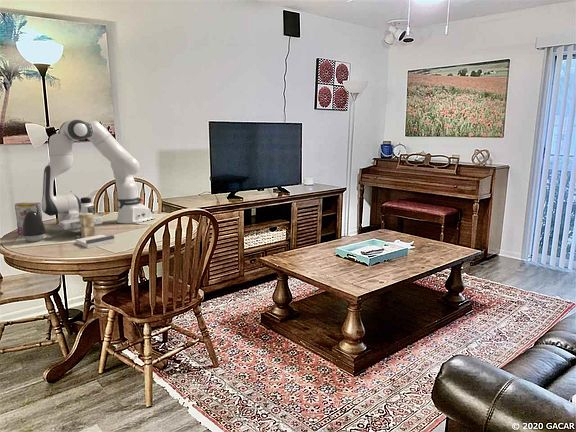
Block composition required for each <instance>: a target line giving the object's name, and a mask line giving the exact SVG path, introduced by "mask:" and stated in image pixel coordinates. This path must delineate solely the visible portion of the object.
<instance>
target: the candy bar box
mask: <svg viewBox="0 0 576 432" xmlns="http://www.w3.org/2000/svg"><path fill="white" fill-rule="evenodd" d="M41 205H42V202H40V201H39V202H38V201H37V202H16V203H15V204H14V209H15V218H16V226H17V234H18V235H22V225H23V220H24V217H25V214H24V212H29V211H35V212H37V213H38V214H39V216H40V217H41V219H42V220H43V214H42V212H43V211H42V206H41Z"/></svg>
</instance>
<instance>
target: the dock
mask: <svg viewBox="0 0 576 432" xmlns="http://www.w3.org/2000/svg"><path fill="white" fill-rule="evenodd" d="M115 242H116V241H115V235H113V234H112V235H108V236H107V235H104V234H98V235H95V236H91V237H86V238H83V237H81V238H77V239H75V243H76V245H79V246H82V247H84V248H87V249H91V248H95V247H102V246H105V245H109V244H114V243H115Z"/></svg>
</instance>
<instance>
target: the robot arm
mask: <svg viewBox="0 0 576 432" xmlns="http://www.w3.org/2000/svg"><path fill="white" fill-rule="evenodd" d="M86 139H87V140H88V141H90V142H91V144H93V146H94V147H95V148H96V149H97V150H98V151H99V153H100V154H101V155H102V156H103V157H104V158H105V159H107V160H108V162H110V167H111V169H112V173H113V176H114V177H113V178H114V181H115V186H116V194H117V197H116V198H117V199H116V202H117V203H116V204H117V209H118V211H117V218H116V222H117V223H118V224H140V223H144V222H148V221H147V220H149V221H152V220H151V219H153V220H155V219H154V218H156V216H155V215H152V212H151V209H150V208H149V207H148V206H146V205H144V204H143V203H142V202H144V200H145V198H143V197H138V187H137V183H136V181H135V178H134V175H137V174H138V172H140V171H139V170H140V168H141V165H140V163H139V161H138V160H137V159H136V158H135V157H134V156H133V155H132V154H131V153H130V152H128V151H127V150H126V149H125V148H124V146H122V145H121V144H120V143H119V142H118V141H117V139H115V137H114V136H113V135H112V133H111V132H109V130H108V129H107V128H106V127H105V126H103V125H102V124H101V123H100V122H98V121H97V120H91V121H89V122H86V121H84V120H81V119H70V120H68V121H65V122H63V123H62V124H61V125H60V127H59V130H58V132H57V133H54V134H52V135H51V136H49V139H48V140H49V141H48V151H49V153H48V154H49V162H48V164H47V165H45V167H44V170H43V180H42V181H43V183H42V199H41V212H43V213H44V214H45V215H47V216H49V217H50V216H51V217H52V216H56V215H57V219H58V221H59V223H57V224H56V226H58V227H60V229H61V230H65V231H68V230H72V229H73V230H76V231H77V230H81V229H80V228H81V224H80V220H79V214H84V213H80V211H81V205H82V204H81V200H80V199H81V198H79V197H78V196H77V195H76V194H74V193H68V194H62V195H61V194H60V195H59V194H58V195H54V181H55V179H56V178H57V177H59V176H60V175H62V174H64V173H66V172H68V171H70V169H71V168H72V167H73V165H74V161H75V160H74V153H73V143H74V142H78V141H83V140H86ZM91 214H93V213H91ZM93 219H94V226H97V225H101V224H103V218H102V216H100V215H97V214H96V215H93ZM143 221H144V222H143Z"/></svg>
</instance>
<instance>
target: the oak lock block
mask: <svg viewBox="0 0 576 432" xmlns="http://www.w3.org/2000/svg"><path fill="white" fill-rule="evenodd" d="M79 220H80V224H81V228H80V229H79V230H80V237H81V238H86V237H91V236H96V230H95V225H94V219H93V214H91V213H84V214H79Z"/></svg>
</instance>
